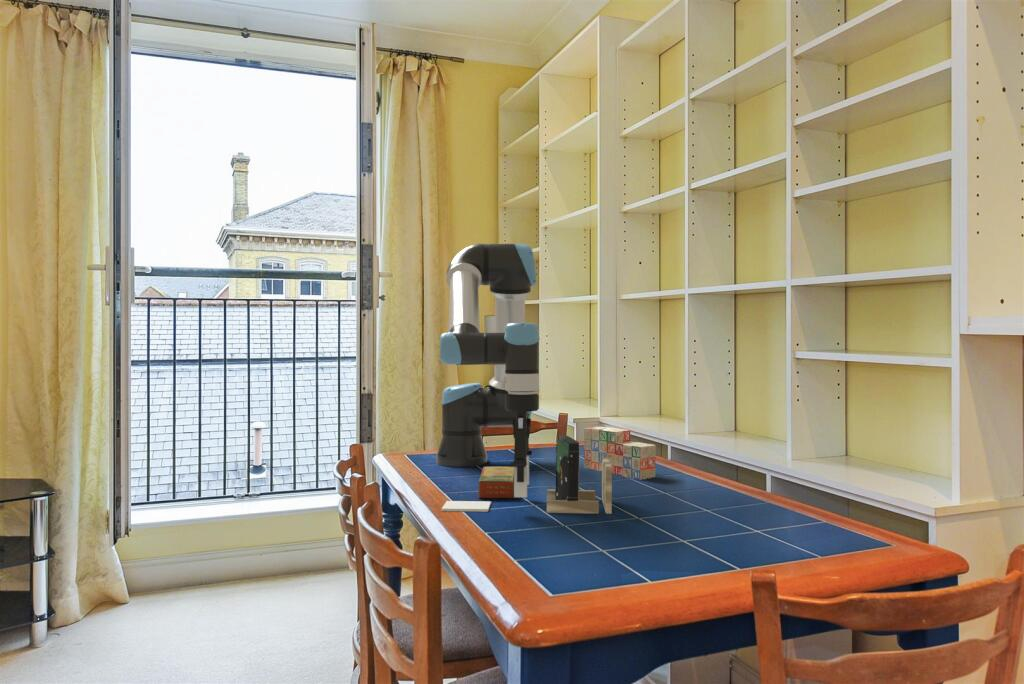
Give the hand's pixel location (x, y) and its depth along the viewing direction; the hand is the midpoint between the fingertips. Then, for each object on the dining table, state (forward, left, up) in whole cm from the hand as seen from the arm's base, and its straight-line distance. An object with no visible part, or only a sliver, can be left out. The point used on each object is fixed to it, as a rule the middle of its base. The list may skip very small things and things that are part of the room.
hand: (521, 490), depth 150 cm
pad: (+2, -12, -3) cm, 13 cm away
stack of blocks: (-38, +25, -4) cm, 45 cm away
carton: (-20, -7, -6) cm, 22 cm away
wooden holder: (0, +11, -3) cm, 12 cm away
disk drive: (0, +10, -3) cm, 11 cm away
